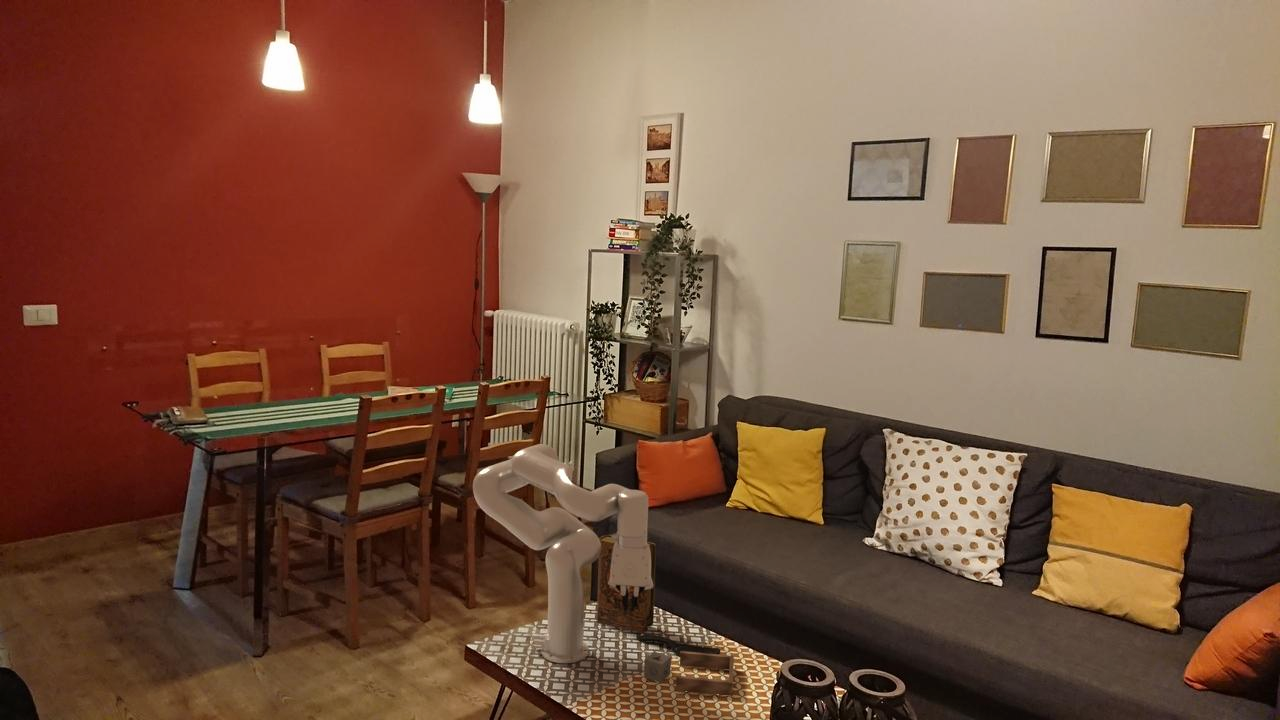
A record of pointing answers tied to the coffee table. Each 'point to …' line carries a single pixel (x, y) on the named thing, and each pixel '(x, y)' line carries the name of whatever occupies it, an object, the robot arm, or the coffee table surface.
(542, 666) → the coffee table surface
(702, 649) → the hairbrush
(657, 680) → the dice cube
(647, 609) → the book
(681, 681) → the box
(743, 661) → the coffee table surface
